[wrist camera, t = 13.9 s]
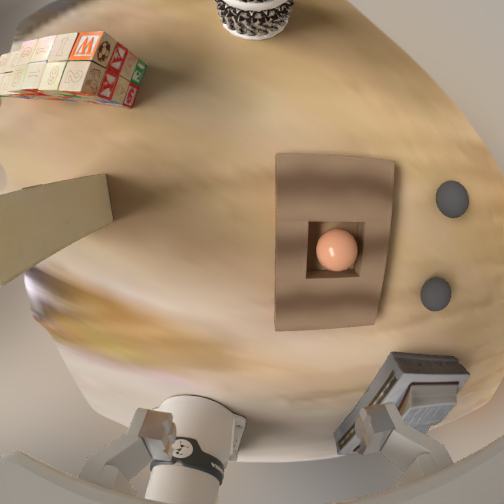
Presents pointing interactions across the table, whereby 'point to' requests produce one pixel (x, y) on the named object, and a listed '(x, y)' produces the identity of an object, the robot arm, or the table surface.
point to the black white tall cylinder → (254, 17)
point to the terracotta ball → (336, 250)
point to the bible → (408, 393)
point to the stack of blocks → (73, 70)
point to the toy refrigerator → (49, 220)
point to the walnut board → (330, 210)
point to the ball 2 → (452, 199)
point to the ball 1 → (435, 294)
